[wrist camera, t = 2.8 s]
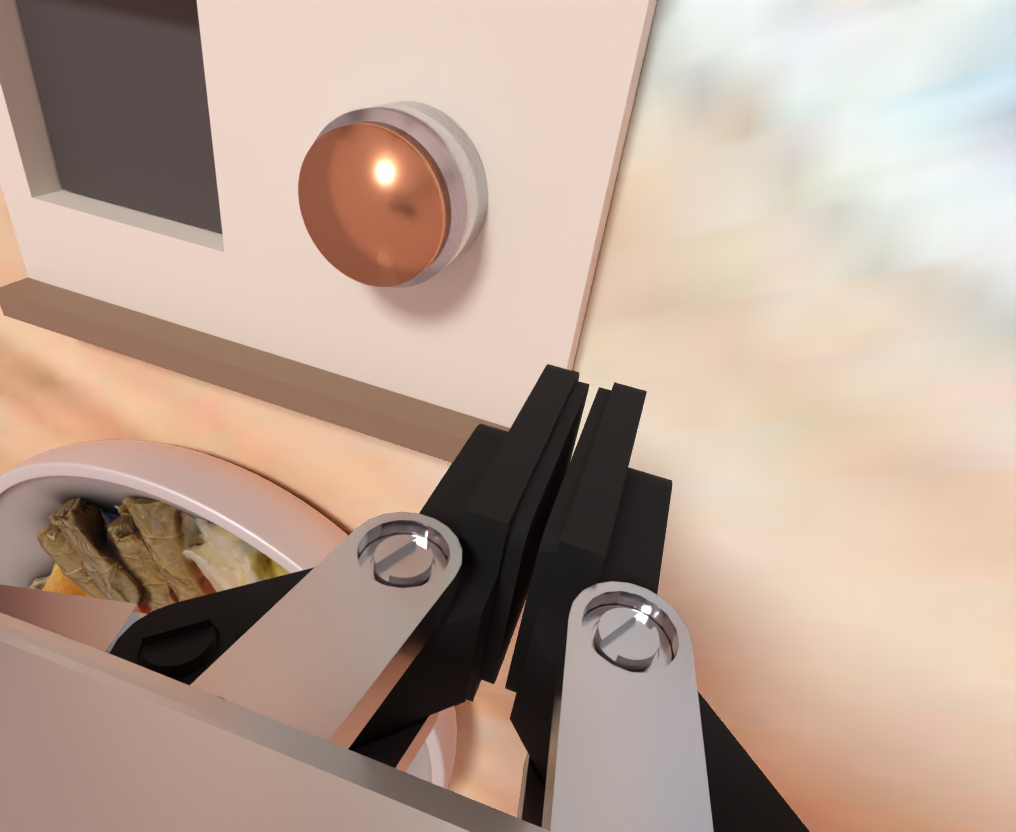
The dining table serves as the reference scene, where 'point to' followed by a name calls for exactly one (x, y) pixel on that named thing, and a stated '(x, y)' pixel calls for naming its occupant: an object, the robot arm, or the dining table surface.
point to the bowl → (165, 536)
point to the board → (274, 193)
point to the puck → (393, 193)
